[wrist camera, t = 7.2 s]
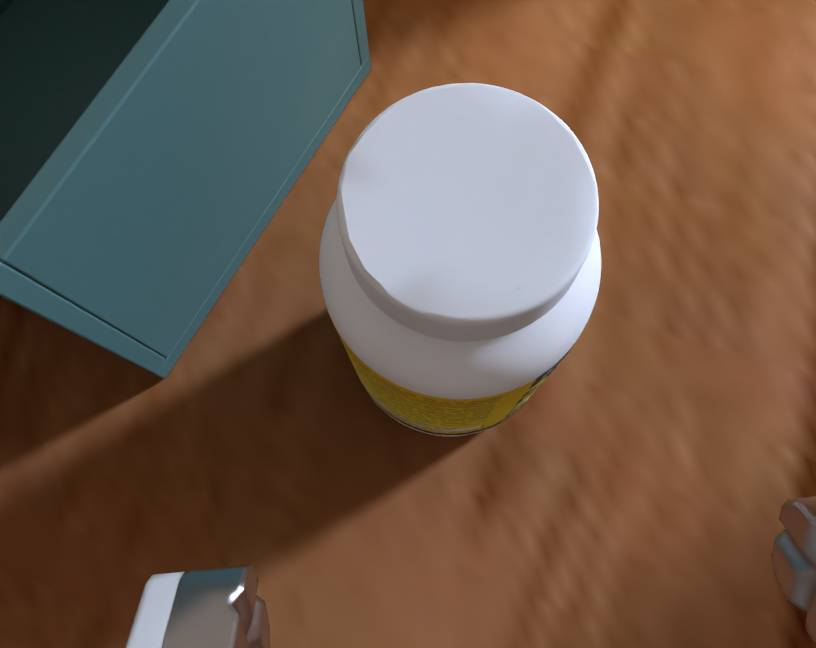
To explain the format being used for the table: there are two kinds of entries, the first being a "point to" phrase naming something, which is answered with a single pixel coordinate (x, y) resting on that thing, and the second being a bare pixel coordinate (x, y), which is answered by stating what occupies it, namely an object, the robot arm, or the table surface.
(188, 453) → the table surface
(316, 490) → the table surface
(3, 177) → the trash bin
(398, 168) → the pill bottle
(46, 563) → the table surface
